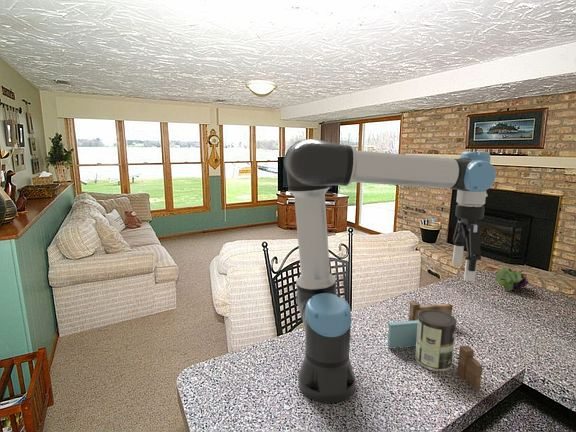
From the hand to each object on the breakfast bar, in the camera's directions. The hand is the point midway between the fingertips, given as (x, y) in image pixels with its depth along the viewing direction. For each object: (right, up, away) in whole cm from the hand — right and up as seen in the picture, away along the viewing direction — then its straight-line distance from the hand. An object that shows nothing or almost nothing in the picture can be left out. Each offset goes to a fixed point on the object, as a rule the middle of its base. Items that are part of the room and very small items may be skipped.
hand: (462, 272), depth 104 cm
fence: (-1, -25, +1) cm, 25 cm away
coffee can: (-11, -26, -3) cm, 28 cm away
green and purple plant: (+47, -16, +48) cm, 69 cm away
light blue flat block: (-15, -24, +4) cm, 28 cm away
